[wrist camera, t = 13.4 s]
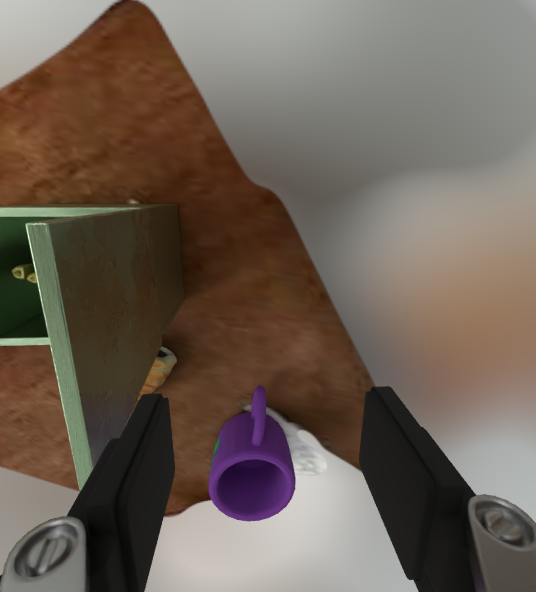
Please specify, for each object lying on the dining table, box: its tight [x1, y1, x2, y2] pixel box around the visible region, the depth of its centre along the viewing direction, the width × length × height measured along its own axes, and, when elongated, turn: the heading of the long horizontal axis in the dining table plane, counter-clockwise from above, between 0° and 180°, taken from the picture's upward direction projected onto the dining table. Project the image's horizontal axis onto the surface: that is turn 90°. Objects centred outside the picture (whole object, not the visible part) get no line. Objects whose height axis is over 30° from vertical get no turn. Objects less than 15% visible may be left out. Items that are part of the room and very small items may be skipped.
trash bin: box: [0, 204, 185, 346], centre depth 36 cm, size 16×13×14 cm
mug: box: [209, 386, 295, 521], centre depth 47 cm, size 17×11×10 cm, turn 173°
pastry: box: [137, 346, 177, 401], centre depth 46 cm, size 9×7×4 cm
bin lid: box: [26, 208, 162, 491], centre depth 22 cm, size 16×13×1 cm
